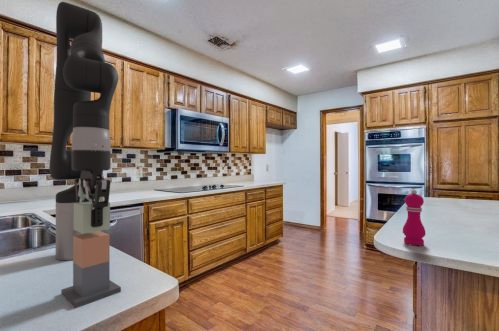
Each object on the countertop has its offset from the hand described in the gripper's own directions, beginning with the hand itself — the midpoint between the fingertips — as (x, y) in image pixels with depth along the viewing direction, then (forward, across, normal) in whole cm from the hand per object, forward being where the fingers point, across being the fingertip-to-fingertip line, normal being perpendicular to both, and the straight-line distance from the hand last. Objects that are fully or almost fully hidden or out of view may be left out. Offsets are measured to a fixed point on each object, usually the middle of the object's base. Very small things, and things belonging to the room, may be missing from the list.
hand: (91, 224), depth 60 cm
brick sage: (+1, 0, 0) cm, 1 cm away
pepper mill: (+16, -50, -91) cm, 105 cm away
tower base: (+15, 0, 0) cm, 15 cm away
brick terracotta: (+8, 0, 0) cm, 8 cm away
